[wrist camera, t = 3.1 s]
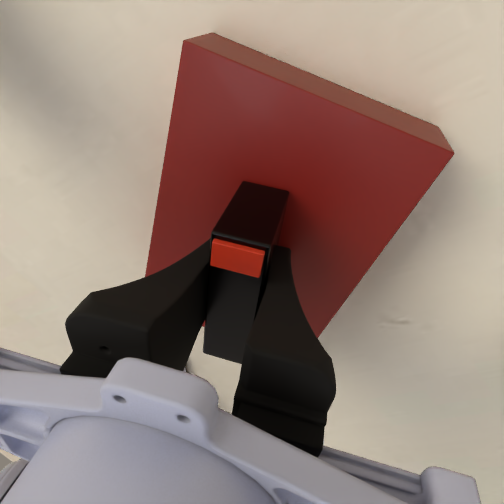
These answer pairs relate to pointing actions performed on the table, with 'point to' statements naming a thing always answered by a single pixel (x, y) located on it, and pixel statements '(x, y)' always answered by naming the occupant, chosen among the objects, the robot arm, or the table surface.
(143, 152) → the table surface
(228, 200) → the red rectangular block
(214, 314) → the block
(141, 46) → the table surface
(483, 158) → the table surface
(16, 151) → the table surface
